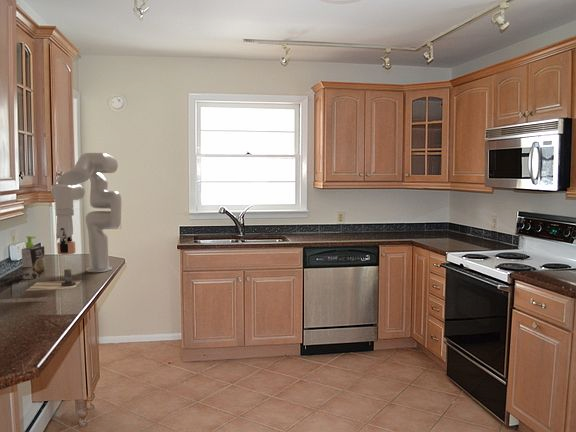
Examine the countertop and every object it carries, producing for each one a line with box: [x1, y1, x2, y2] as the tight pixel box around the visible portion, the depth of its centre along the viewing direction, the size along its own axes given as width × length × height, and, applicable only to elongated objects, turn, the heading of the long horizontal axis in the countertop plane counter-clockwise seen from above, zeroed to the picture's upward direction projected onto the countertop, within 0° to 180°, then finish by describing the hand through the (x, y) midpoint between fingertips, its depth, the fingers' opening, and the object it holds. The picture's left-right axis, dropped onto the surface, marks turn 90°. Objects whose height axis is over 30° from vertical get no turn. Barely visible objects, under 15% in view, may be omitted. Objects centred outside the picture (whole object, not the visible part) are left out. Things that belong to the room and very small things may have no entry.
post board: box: [25, 268, 82, 292], centre depth 241 cm, size 16×20×8 cm
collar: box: [56, 240, 77, 256], centre depth 240 cm, size 7×7×5 cm
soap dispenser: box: [25, 235, 36, 248], centre depth 269 cm, size 6×7×20 cm
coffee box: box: [21, 245, 47, 280], centre depth 258 cm, size 9×6×16 cm
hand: (66, 250), depth 240 cm, fingers closed on collar, 7 cm apart
